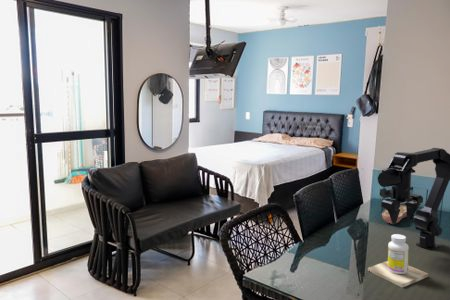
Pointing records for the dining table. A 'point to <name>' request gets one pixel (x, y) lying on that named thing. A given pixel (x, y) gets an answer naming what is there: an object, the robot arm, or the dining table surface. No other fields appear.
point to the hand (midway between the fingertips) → (401, 221)
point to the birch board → (398, 279)
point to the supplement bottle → (398, 254)
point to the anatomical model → (401, 215)
